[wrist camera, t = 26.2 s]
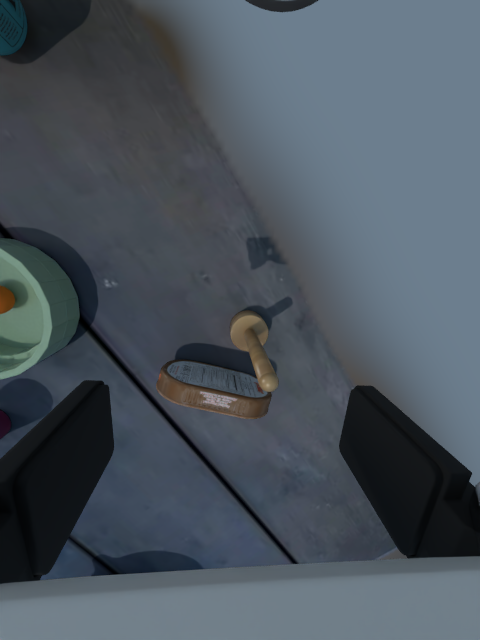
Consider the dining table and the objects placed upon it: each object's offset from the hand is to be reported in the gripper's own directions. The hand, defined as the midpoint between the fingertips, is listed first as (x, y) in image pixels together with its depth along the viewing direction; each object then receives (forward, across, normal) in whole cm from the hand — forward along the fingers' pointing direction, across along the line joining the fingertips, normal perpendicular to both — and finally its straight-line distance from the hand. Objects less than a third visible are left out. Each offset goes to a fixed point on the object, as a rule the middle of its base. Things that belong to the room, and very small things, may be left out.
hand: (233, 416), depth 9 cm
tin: (+25, 0, +11) cm, 27 cm away
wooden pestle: (+25, -4, +4) cm, 25 cm away
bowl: (+24, +26, +2) cm, 36 cm away
